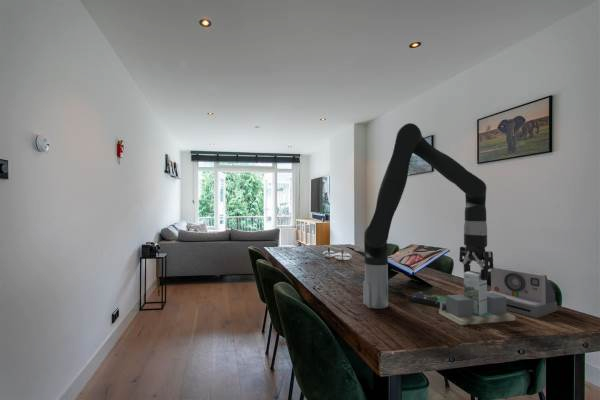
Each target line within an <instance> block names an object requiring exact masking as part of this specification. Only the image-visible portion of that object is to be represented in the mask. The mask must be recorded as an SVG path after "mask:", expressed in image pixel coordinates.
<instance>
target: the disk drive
mask: <svg viewBox="0 0 600 400" xmlns="http://www.w3.org/2000/svg"><path fill="white" fill-rule="evenodd" d="M408 301H409V302H412V303H416V304H417V303H418V304H422V305H426V306H431V307H435V308H439V309H440V302H446V295H440V294H436V293H434V294H433V293H430V292H425V291H417V292H415V293H412V294H410V295H408Z"/></svg>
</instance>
